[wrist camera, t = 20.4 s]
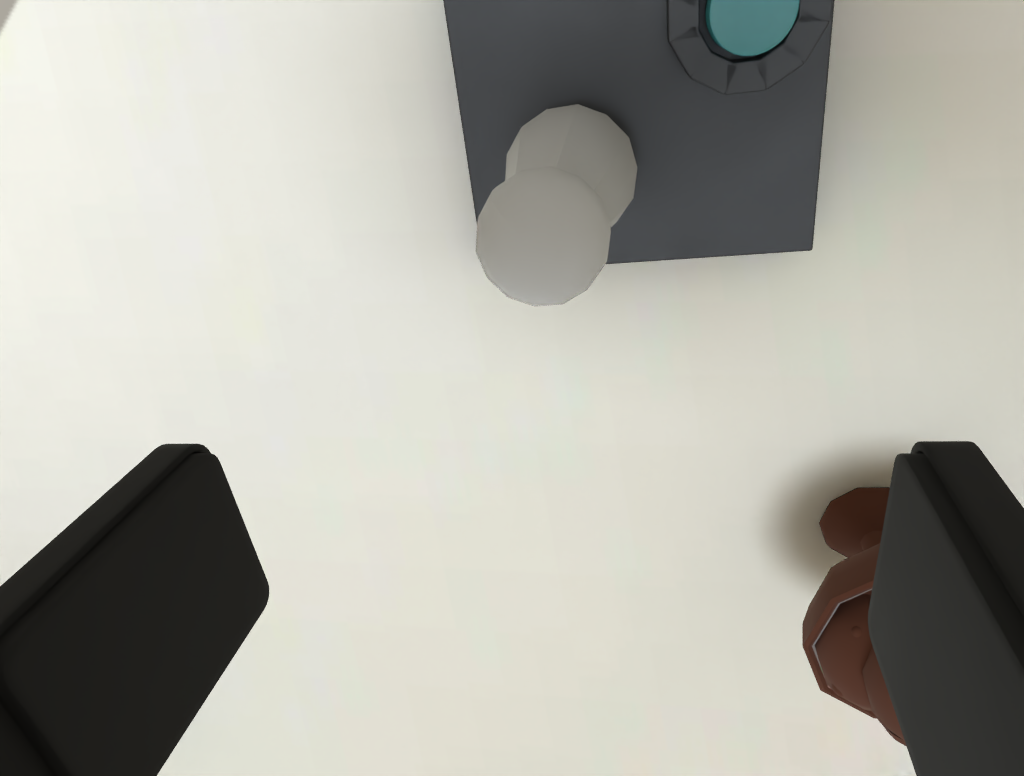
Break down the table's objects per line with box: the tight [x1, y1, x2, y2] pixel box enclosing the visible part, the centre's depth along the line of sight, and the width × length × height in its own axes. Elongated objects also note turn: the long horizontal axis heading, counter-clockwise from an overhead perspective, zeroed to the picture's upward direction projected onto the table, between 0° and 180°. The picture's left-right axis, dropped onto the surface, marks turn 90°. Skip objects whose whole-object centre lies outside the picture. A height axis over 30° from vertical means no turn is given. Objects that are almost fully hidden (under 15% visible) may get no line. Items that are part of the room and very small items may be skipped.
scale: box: [443, 0, 834, 264], centre depth 30 cm, size 16×14×4 cm
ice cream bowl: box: [803, 488, 906, 746], centre depth 34 cm, size 11×11×15 cm
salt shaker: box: [476, 104, 637, 306], centre depth 26 cm, size 6×6×13 cm
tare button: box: [705, 0, 800, 56], centre depth 26 cm, size 3×3×2 cm
